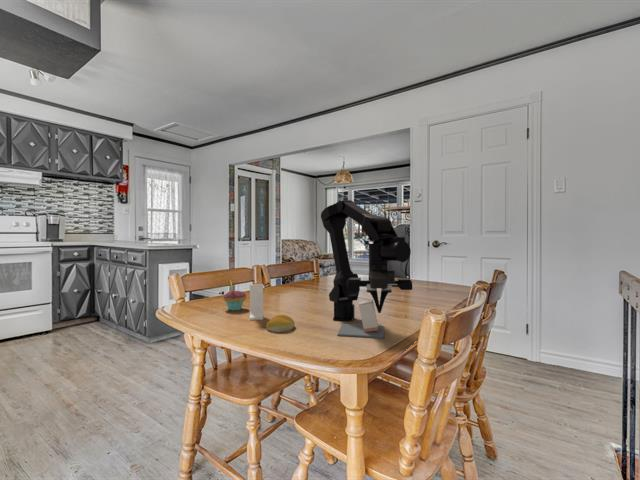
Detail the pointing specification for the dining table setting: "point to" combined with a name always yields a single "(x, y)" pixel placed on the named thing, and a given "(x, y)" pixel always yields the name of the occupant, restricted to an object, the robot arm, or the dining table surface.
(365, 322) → the tall block
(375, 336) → the rubber mat
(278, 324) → the bread roll
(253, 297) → the light gray rectangular block
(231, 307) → the cupcake
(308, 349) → the dining table surface
